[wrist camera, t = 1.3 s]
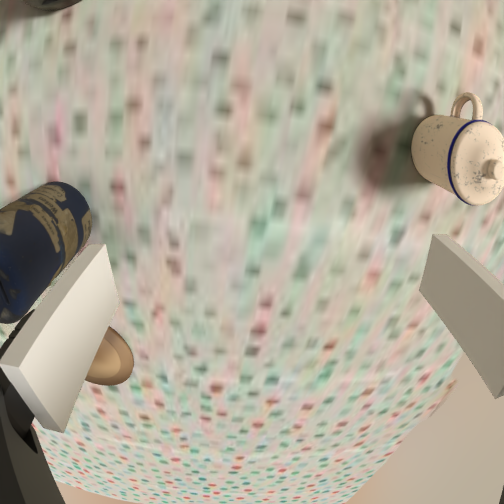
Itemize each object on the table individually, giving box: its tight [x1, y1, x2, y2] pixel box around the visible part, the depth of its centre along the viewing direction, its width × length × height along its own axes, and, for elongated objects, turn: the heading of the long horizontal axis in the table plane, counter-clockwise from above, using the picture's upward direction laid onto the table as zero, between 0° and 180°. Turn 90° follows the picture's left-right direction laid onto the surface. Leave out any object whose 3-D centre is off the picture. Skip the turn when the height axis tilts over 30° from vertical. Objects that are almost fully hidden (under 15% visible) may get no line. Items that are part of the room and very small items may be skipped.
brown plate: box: [85, 326, 134, 386], centre depth 44 cm, size 15×15×1 cm
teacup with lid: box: [411, 92, 504, 205], centre depth 27 cm, size 12×9×12 cm
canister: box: [0, 182, 92, 324], centre depth 27 cm, size 10×10×18 cm
